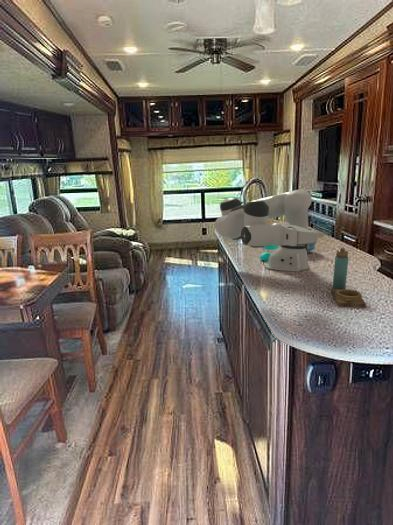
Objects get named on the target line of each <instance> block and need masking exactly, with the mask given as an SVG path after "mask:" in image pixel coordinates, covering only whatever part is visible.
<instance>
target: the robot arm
mask: <svg viewBox="0 0 393 525" xmlns="http://www.w3.org/2000/svg"><path fill="white" fill-rule="evenodd" d="M312 198H313V197H312V195H311V193H310V192H309V191H307V190H306V189H302V188H300V189H295V190H290V191H287V192H283V193H278V194H274V195H269V196H266V197H262V198H257V199H254V200H251V201H250V200H249V201H248V202H246V203H244V201H241V199H239V198H236V197H228V198H225V199H223V201H221V202H220V204H219V209H220V211H221V216H219V217H217V218H216V220H215V221H214V229H215V232H216V233H217V234H218V235H220V236H221V237H223V238H225V239H229V240H233V241H240V240H241V242H242V244H243V245H245V246H248V247H251V248H254V249H256V248H257V249H259V248H262V247H265V246H269V245H274V246H278V248H276V249H274V250H273V251H272V252H270V253H271V254H270V256H269V261H264V265H263V267H264V268H266V269H267V270H273V269H274V270H275V271H276V270H277V271H286V272H296V273H297V272H300V271H305V270H308V269H309V268H310V265H309V261H308V260H309V259H308V253H307V251H308V243H315V242H316V243H317V242H318V239H319V238H324V236H325V233H324V232H323V231H316V232H314V230H312V228H311V229H310V227H309V207H310V206H311V205H312V202H313V201H312V200H313V199H312ZM282 216H284V221H285V222H274V223H269V220H271V219H275V218H278V217H282ZM317 238H318V239H317Z"/></svg>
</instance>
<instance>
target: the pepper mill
mask: <svg viewBox="0 0 393 525" xmlns="http://www.w3.org/2000/svg"><path fill="white" fill-rule="evenodd" d="M335 253H336V255H335V256H334V257H335V258H334V266H333V268H334V269H333V279H332V280H333V281H332V289H346V286H347V276H348V268H349V267H348V266H349V258H350V257H349V251H348V250H346V249H345V247H340V249H338V250H336V252H335Z"/></svg>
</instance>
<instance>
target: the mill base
mask: <svg viewBox="0 0 393 525" xmlns="http://www.w3.org/2000/svg"><path fill="white" fill-rule="evenodd" d="M330 293H331V295H332V297H333V299H334V301H335V303H336V305H337V307H349V308H363V309H365V308H367V303H366V301H365V300H364V299H363V298H362V296H363V295H362V293H361V292H359V291H358V290H356V289H346V288H345V289H333V288H330Z"/></svg>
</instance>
